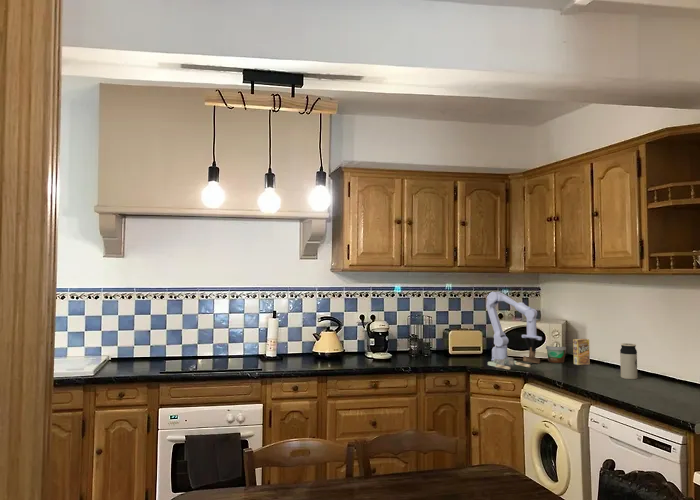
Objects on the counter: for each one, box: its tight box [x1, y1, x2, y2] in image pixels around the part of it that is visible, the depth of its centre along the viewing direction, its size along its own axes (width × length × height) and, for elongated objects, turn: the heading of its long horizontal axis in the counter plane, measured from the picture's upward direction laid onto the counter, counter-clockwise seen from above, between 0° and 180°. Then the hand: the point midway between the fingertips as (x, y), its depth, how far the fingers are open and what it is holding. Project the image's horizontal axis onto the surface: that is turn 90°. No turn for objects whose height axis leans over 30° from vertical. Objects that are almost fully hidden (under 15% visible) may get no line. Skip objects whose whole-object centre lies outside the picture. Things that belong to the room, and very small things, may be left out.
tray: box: [487, 360, 518, 368], centre depth 343 cm, size 7×17×2 cm, turn 118°
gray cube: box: [504, 356, 515, 366], centre depth 344 cm, size 4×4×4 cm
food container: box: [545, 345, 567, 364], centre depth 351 cm, size 12×6×10 cm, turn 62°
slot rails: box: [495, 361, 531, 370], centre depth 335 cm, size 11×17×2 cm, turn 118°
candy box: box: [572, 338, 591, 366], centre depth 343 cm, size 9×4×15 cm, turn 108°
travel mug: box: [619, 342, 638, 380], centre depth 300 cm, size 8×8×18 cm
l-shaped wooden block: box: [522, 347, 541, 364], centre depth 344 cm, size 2×12×9 cm, turn 118°
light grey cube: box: [494, 358, 505, 366], centre depth 341 cm, size 4×4×4 cm
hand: (531, 350), depth 344 cm, fingers closed on l-shaped wooden block, 2 cm apart
